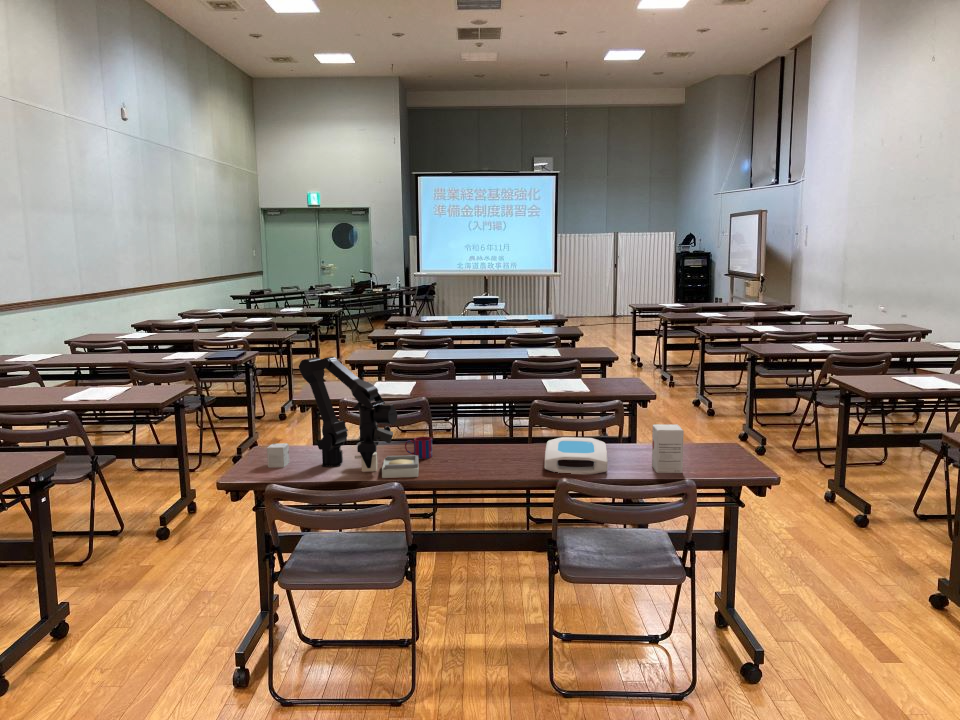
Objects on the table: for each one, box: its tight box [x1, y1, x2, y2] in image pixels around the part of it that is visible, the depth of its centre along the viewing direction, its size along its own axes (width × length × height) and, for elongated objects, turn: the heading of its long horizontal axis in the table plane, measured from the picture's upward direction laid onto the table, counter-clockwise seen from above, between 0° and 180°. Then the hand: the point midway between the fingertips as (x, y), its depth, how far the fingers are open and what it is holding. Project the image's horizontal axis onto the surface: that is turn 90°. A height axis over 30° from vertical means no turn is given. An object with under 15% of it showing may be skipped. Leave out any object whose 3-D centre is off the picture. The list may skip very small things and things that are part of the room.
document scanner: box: [544, 436, 608, 476], centre depth 250 cm, size 21×28×6 cm
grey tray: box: [381, 454, 420, 479], centre depth 242 cm, size 12×14×4 cm
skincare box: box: [266, 442, 290, 468], centre depth 251 cm, size 6×6×7 cm
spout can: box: [354, 451, 378, 473], centre depth 245 cm, size 8×5×6 cm, turn 94°
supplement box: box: [651, 423, 685, 474], centre depth 240 cm, size 9×9×15 cm
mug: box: [404, 436, 433, 460], centre depth 261 cm, size 7×10×7 cm
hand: (369, 465), depth 245 cm, fingers closed on spout can, 5 cm apart
